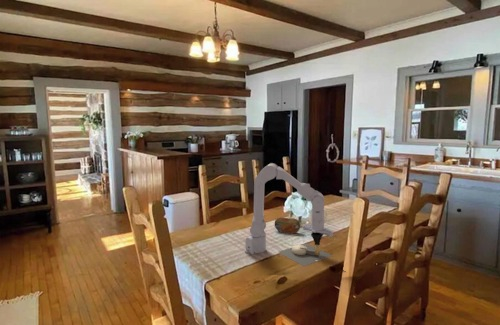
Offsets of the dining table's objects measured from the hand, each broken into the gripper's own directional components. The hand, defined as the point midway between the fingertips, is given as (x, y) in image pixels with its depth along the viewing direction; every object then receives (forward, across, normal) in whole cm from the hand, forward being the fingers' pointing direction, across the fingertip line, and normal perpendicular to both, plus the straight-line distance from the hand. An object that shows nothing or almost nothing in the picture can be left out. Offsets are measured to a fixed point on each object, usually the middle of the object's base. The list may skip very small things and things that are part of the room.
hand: (317, 247), depth 141 cm
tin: (+5, -30, +18) cm, 36 cm away
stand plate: (+4, -4, -4) cm, 7 cm away
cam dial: (+3, -4, -3) cm, 6 cm away
